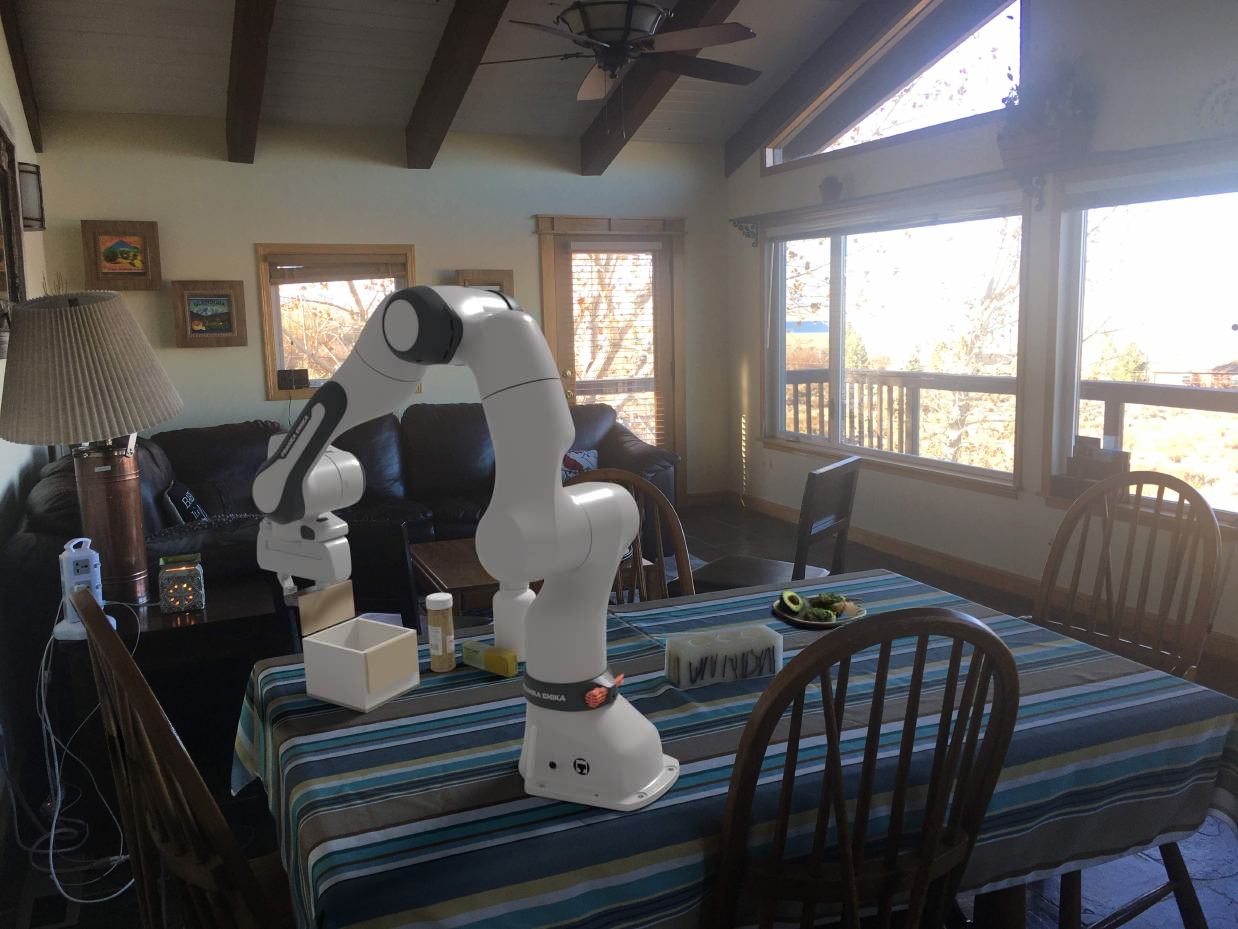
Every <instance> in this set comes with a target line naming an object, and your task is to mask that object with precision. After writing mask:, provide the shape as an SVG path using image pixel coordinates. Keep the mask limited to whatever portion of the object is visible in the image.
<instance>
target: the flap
mask: <svg viewBox="0 0 1238 929" xmlns="http://www.w3.org/2000/svg"><path fill="white" fill-rule="evenodd" d="M317 588H318V586H316V584H315V585H313V586H309V587H306V588H302V589H301V590H300V589H299V590H297V592H294V593H291V594H288V595H285V596H284V598H283V600H284V601H283V602H284V604H285V605H286V607H292V606H294V607H298V609H299V617H300V618H299V619H300V626H301V627H300V629H301V635H302V636H303V637H305V636H309V635H310V634H311V635H312V634H313V633H317V631H322V630H325V629H327V628H328V627H332V626H335V625H336V624H337V625H338V624H339V623H343V622H346V621H348V620H351V619H353V618H355V617H356V614H355V602H354V592H353V591H354V590H353V580H352V579H347V580H346V581H343V582H340V583H337V584H331V585H330V587H327V588H324V589H321V590H318V591H317Z"/></svg>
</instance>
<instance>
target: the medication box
mask: <svg viewBox="0 0 1238 929" xmlns="http://www.w3.org/2000/svg"><path fill="white" fill-rule="evenodd" d="M460 649H461V660H462V664H465V665H469V666H472V667H473V668H476V669H481V670H484V671H487V672H489V673H494V674H496V675H500V676H502V677H505V678H511V677H513V676H516V675H517V674H519V669H518V668H519V667H518V666H519V665H518V662H517V654H516V653H513V652H510V651H507V650H504V649H500V648H497V647H495V645H490V644H486V643H483V642H480V641H477V640H474V639H469V640H465V641H463V642H461V643H460Z"/></svg>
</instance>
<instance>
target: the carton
mask: <svg viewBox="0 0 1238 929" xmlns="http://www.w3.org/2000/svg"><path fill="white" fill-rule="evenodd" d="M417 638H418V637H417V629H412V628H408V627H404V626H398V625H396V624H390V623H387V622H386V623H384V622H381V621H375V620H371V619H367V618H363V617H356V618H355V617H354V618H351V619H349V620H346V621H343V622H341V623H340V624H339V623H338V624H337V625H333V626H330V628H325V629H323V630H320V631H319V632H315V633H314V634H313V633H312V634H311V635H307V636H306V637H304V638H302V639H301V640H302V650H303V652H302V653H303V664H304V672H305V673H304V674H305V685H306V686H305V687H306V695H307V697H310V698H313V699H318V700H320V701H324V702H327V703H330V704H332V705H333V704H334V705H337V706H340V707H344V708H347V709H349V710H350V709H351V710H354V711H358V712H360V713H364V714H368V713H369V712H372V711H373V710H376V709H378V708H380V707H382V706H384V705H386V704H388V703H389V702H392V701H393V700H396V699H397V698H400V697H401V696H403V695H405V694H408V693H410V692H412V691H413V690H415V689H419V687H420V686H421V684H420V683H421V682H420V680H421V679H420V667H419V666H420V665H419V652H418V650H419V649H418V641H417V640H418V639H417Z"/></svg>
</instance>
